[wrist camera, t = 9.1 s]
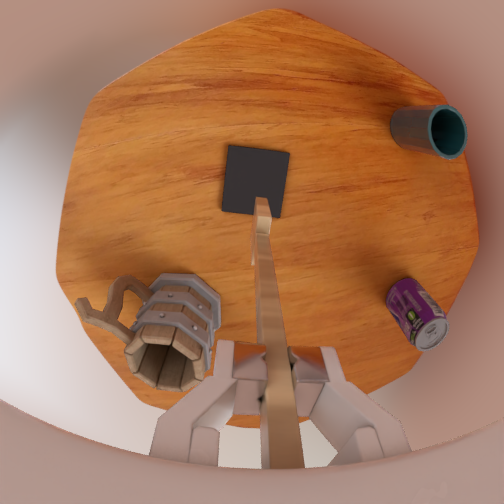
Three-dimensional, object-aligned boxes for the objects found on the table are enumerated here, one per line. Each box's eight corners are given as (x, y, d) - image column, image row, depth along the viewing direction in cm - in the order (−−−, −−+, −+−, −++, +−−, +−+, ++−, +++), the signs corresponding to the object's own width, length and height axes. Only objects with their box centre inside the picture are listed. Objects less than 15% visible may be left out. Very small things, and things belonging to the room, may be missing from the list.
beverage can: (378, 290, 45) (408, 334, 34) (412, 268, 44) (448, 307, 33) (390, 316, 48) (417, 360, 37) (421, 296, 46) (454, 336, 35)
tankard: (236, 308, 46) (232, 378, 33) (188, 346, 50) (172, 412, 36) (141, 224, 40) (94, 271, 27) (100, 275, 44) (56, 329, 30)
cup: (393, 100, 33) (431, 96, 24) (428, 114, 33) (470, 115, 24) (386, 143, 36) (424, 150, 27) (422, 154, 36) (462, 165, 27)
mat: (228, 145, 36) (228, 145, 36) (289, 153, 37) (290, 153, 36) (221, 210, 40) (221, 211, 39) (279, 216, 40) (279, 218, 40)
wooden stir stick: (255, 196, 23) (278, 458, 4) (267, 198, 23) (324, 456, 4) (250, 236, 24) (254, 502, 6) (261, 238, 24) (286, 501, 6)
